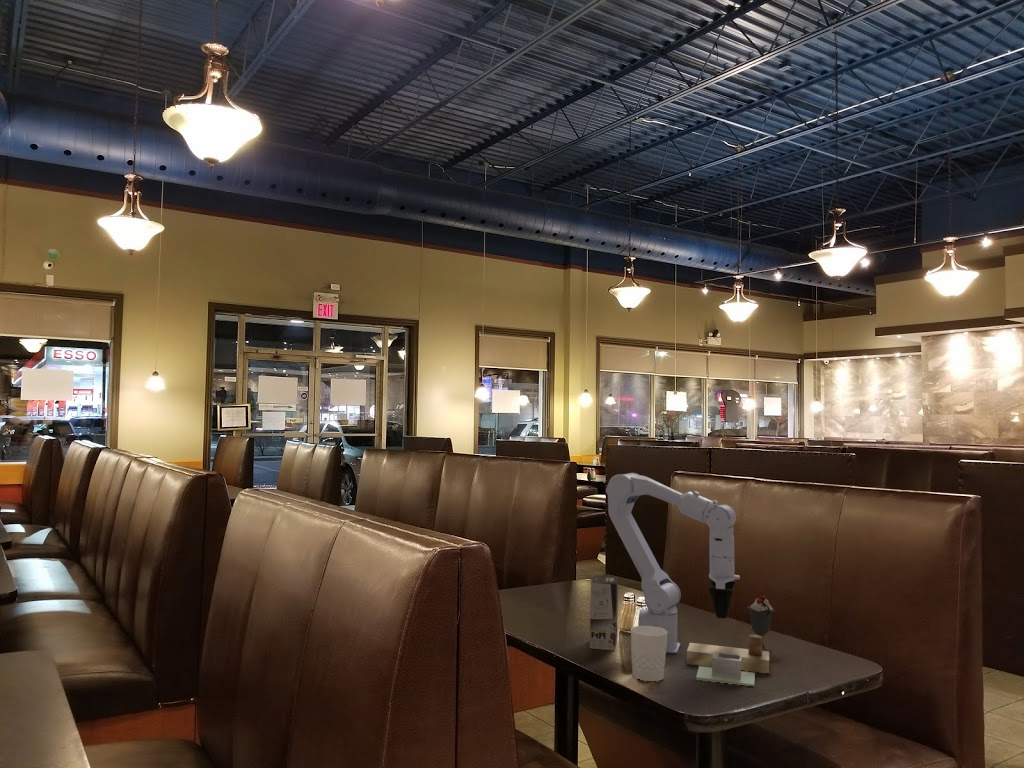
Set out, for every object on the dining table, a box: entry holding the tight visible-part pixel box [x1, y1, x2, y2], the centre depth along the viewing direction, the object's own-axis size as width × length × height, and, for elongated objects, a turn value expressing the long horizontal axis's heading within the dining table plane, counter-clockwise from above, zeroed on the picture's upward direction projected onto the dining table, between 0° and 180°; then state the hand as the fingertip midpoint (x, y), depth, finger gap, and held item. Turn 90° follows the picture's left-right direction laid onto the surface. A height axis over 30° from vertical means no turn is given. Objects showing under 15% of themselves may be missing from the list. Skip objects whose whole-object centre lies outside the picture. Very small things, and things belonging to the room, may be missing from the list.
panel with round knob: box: [686, 634, 770, 674], centre depth 176 cm, size 18×7×7 cm, turn 71°
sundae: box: [746, 589, 776, 653], centre depth 188 cm, size 7×7×15 cm
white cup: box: [630, 625, 667, 683], centre depth 166 cm, size 8×8×10 cm
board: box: [695, 665, 756, 688], centre depth 166 cm, size 12×8×1 cm, turn 71°
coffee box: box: [589, 575, 619, 651], centre depth 189 cm, size 9×6×16 cm
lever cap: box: [711, 652, 742, 680], centre depth 166 cm, size 6×4×5 cm
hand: (722, 614), depth 180 cm, fingers open, 7 cm apart
